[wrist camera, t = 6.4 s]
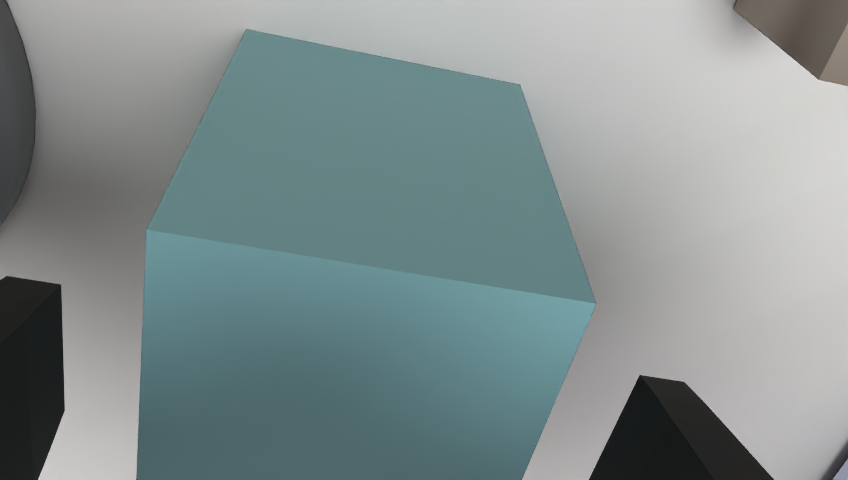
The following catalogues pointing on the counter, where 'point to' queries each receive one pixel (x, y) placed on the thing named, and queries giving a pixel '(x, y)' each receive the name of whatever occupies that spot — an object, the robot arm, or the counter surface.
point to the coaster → (14, 113)
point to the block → (355, 277)
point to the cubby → (805, 32)
